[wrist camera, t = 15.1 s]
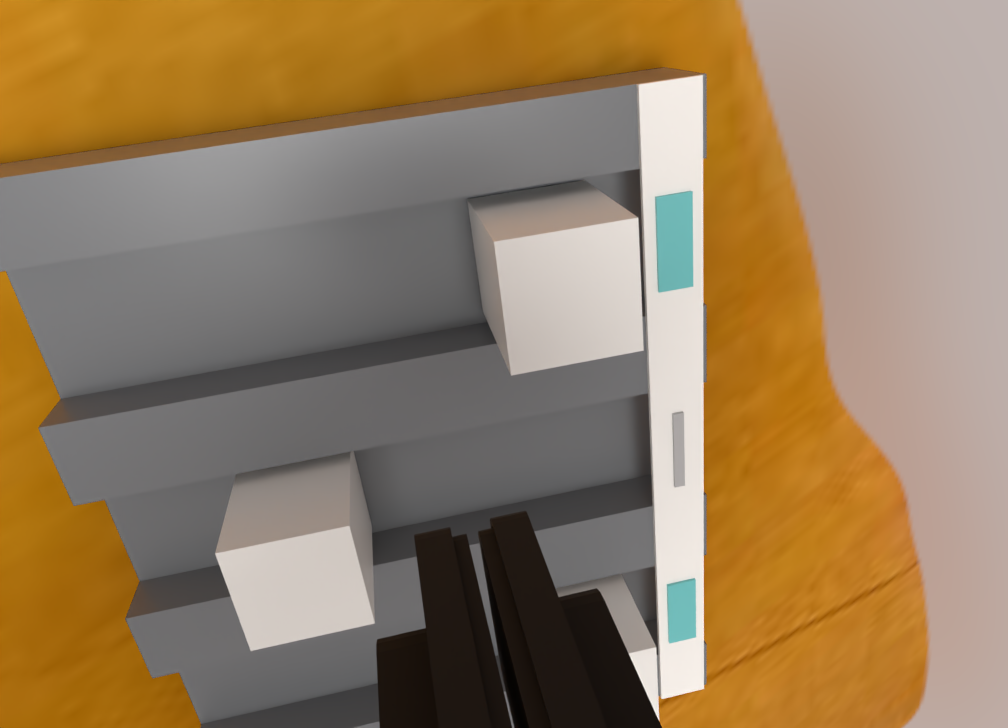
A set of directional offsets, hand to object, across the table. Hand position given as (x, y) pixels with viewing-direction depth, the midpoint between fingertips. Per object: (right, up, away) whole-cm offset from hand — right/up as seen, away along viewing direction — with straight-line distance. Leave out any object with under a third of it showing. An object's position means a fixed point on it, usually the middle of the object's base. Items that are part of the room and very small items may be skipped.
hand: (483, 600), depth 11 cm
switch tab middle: (-7, -1, +17) cm, 18 cm away
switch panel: (-3, 0, +19) cm, 19 cm away
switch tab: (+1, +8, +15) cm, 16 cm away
